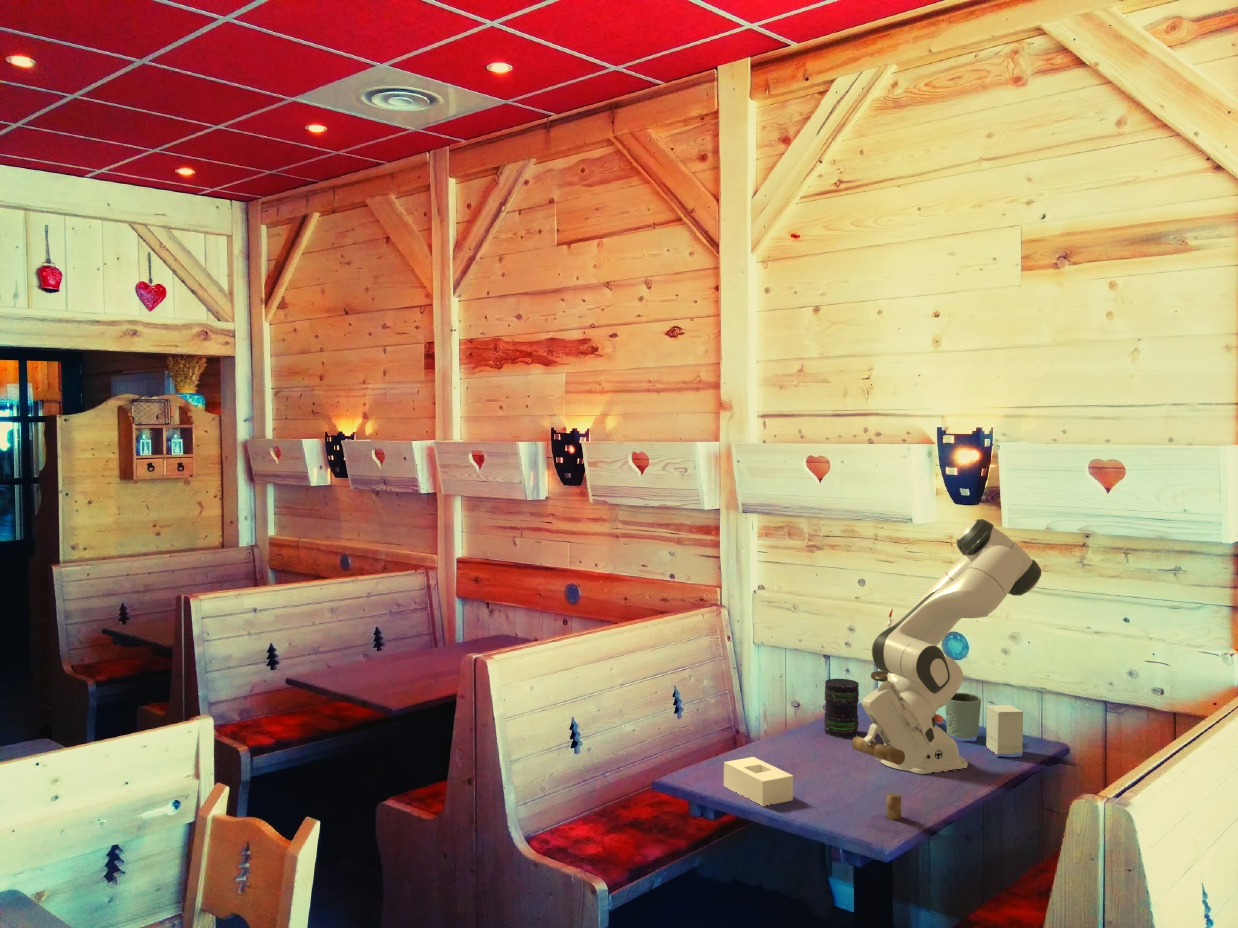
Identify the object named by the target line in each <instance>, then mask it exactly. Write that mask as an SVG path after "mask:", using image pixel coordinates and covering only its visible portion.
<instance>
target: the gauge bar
mask: <svg viewBox="0 0 1238 928" xmlns="http://www.w3.org/2000/svg"><path fill="white" fill-rule="evenodd" d="M723 787H725V788H726V789H728V790H730V791H732V792H734V793H736V792H737V793H736V794H737V795H740V796H742V795H743V796H744V798H745V797H746V798H745V799H747V798H749V799H750V801H751V800H752V801H751V802H753V801H754V802H753V803H755V802H756V803H758V804H760V805H761V806H760V805H759V806H760V807H762V806H763V807H767V806H766V805H768V806H771V805H770V804H773V805H778V804H781V803H786V802H791V801H793V800H794V798H793V797H794V775H793V774H791V773H788V772H787V771H785V770H782V769H780V768H778V767H776V766H774V765H771V764H770V763H767V762H765V761H763V760H762V759H759V758H757V757H755V756H750V757H745V758H739V759H733V760H728V761H724V762H723ZM743 796H742V797H743ZM749 799H748V800H749ZM756 803H755V804H756ZM777 803H778V804H777ZM758 804H757V805H758Z"/></svg>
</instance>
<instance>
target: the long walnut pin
mask: <svg viewBox="0 0 1238 928" xmlns="http://www.w3.org/2000/svg"><path fill="white" fill-rule="evenodd" d="M864 738H865V737H862V736H858V735H857V736H856V737H853V738H852V741H851V747H852V749H853V750H854V751H858V752H860V753H863V754H866V755H868V756H871V757H877V758H880V759H883V760H886V761H889V762H891V763H894V764H897V765H900V764H902V763H903V762H904V760H905V754H904V752H903V751H902V750H899V749H896V748H892V747H889V746H886V745H884V743H879V742H878V741H877V742H876V741H875V742H874V743H873V744H872V745H871V746H869V745H866V743H865V741H864V740H863V739H864Z"/></svg>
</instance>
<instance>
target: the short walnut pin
mask: <svg viewBox="0 0 1238 928" xmlns="http://www.w3.org/2000/svg"><path fill="white" fill-rule="evenodd" d="M886 818H887V819H888V820H891V821H900V820H901V818H902V796H901V795H900V794H898V793H888V794H886Z"/></svg>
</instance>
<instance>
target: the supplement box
mask: <svg viewBox="0 0 1238 928" xmlns="http://www.w3.org/2000/svg"><path fill="white" fill-rule="evenodd" d="M1023 734H1024V711H1022V710H1020V709H1019V708H1017V707H1015V706H1013V705H1011V704H1004V705H1003V704H1001V705H1000V704H999V705H998V704H997V705H996V704H995V705H987V706H986V735H985V736H986V738H985V739H986V740H985V744H986V745H985V747H986V746H987V748H989V749H990V750H991V751H993V752H995V754H1015V753H1022V754H1023V750H1024V749H1023V747H1024V746H1023V742H1024V740H1023V739H1024V738H1023V736H1024V735H1023Z"/></svg>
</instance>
